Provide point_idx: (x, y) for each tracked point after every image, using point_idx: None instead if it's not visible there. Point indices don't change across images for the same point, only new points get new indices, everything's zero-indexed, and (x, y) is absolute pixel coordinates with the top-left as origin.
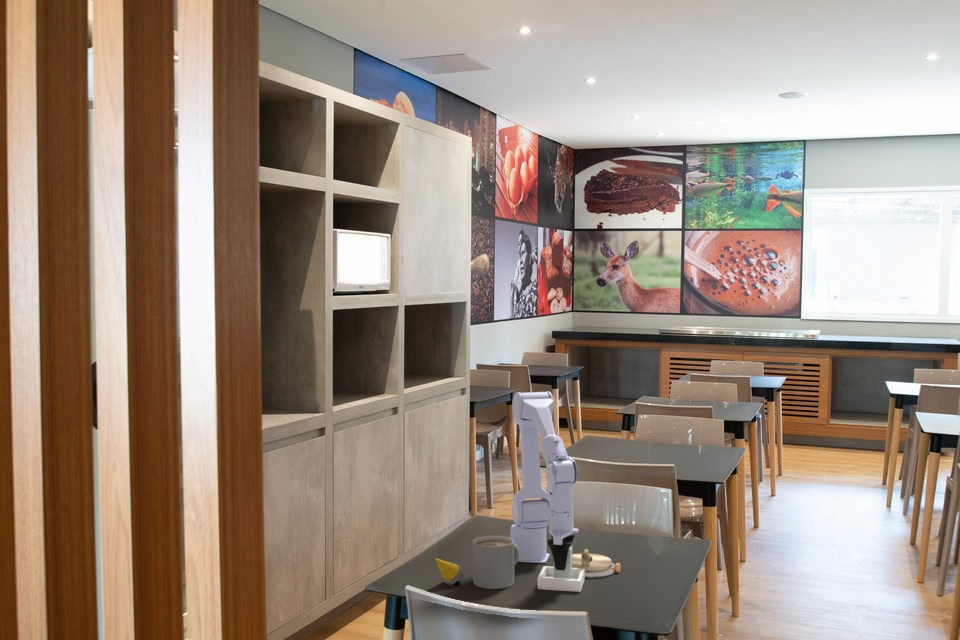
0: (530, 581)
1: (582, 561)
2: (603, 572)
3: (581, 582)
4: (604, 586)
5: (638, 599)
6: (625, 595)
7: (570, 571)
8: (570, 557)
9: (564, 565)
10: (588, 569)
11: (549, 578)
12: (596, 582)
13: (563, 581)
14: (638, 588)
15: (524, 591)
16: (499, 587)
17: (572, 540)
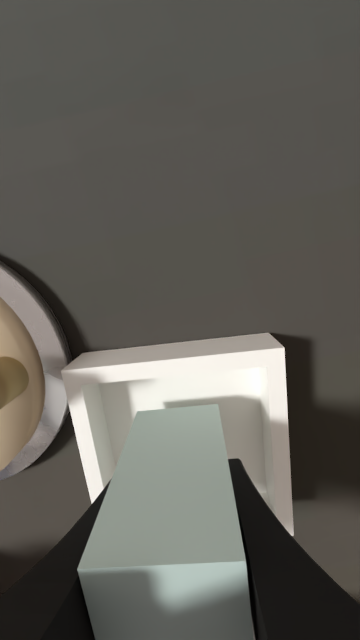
0: None
1: (8, 401)
2: (4, 281)
3: (233, 345)
4: (156, 245)
5: (312, 18)
6: (263, 109)
7: (213, 425)
8: (227, 490)
9: (249, 480)
10: (30, 354)
11: (279, 490)
12: (112, 293)
13: (287, 424)
14: (128, 61)
15: (317, 528)
16: None
17: (48, 628)
